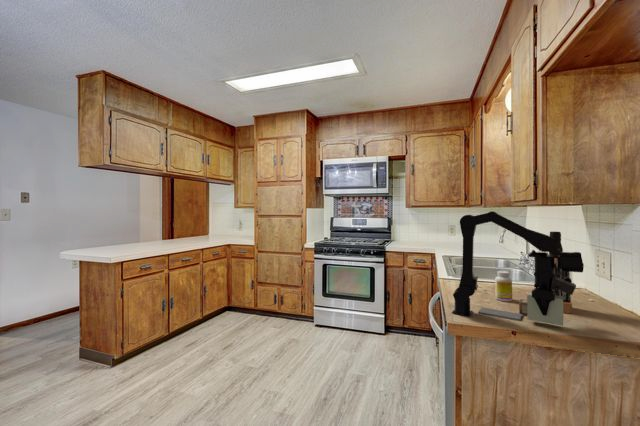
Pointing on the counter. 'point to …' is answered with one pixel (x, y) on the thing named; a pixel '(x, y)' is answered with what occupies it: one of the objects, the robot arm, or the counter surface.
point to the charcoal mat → (500, 313)
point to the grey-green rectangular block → (553, 311)
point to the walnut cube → (523, 307)
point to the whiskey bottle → (561, 274)
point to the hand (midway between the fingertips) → (545, 313)
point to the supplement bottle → (503, 286)
